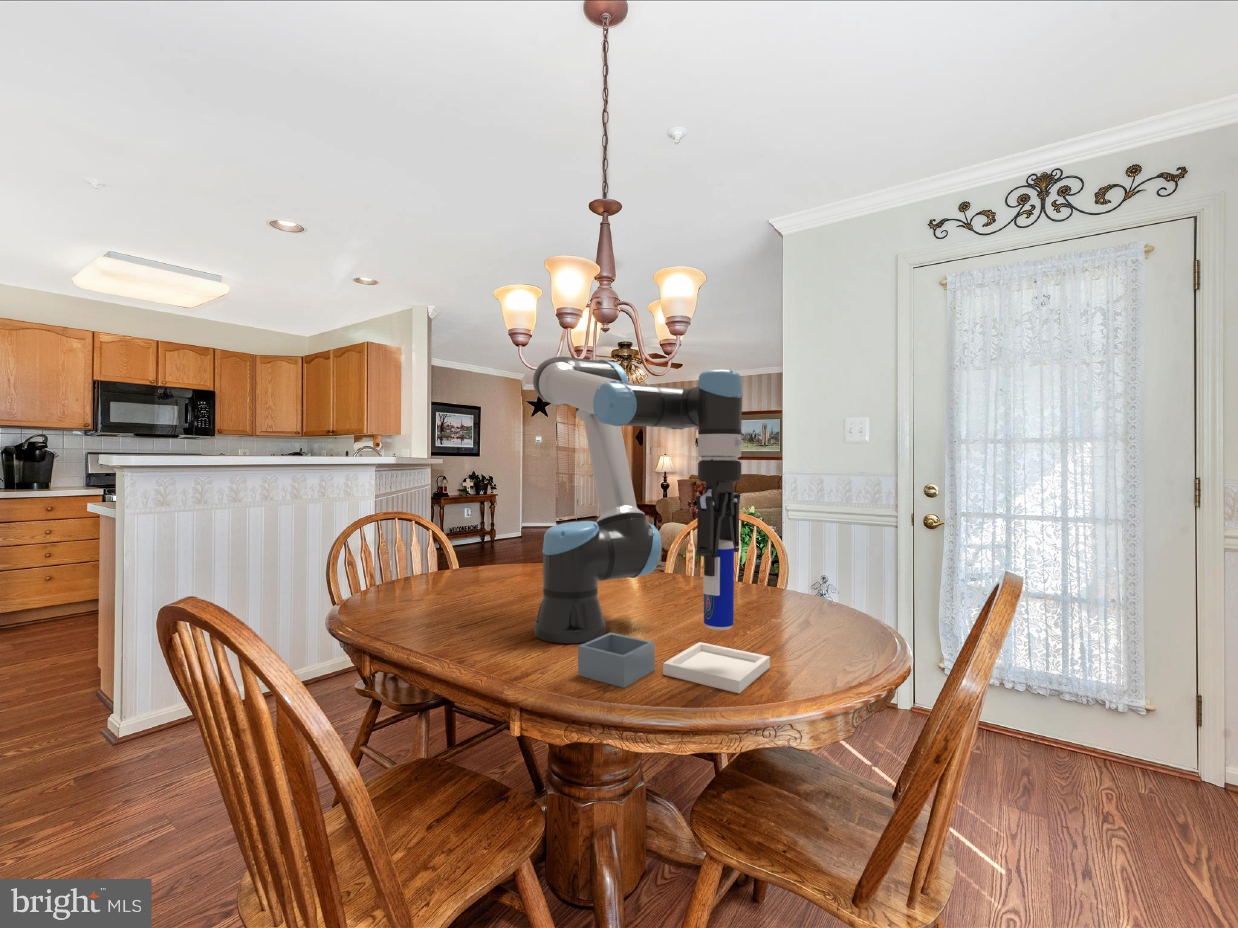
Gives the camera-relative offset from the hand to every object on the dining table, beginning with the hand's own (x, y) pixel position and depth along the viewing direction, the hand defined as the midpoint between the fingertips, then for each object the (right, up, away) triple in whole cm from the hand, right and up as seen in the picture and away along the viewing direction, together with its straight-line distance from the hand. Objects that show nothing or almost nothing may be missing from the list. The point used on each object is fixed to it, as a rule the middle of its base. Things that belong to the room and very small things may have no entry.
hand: (718, 590), depth 101 cm
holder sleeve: (-18, -14, -1) cm, 23 cm away
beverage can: (0, -6, 0) cm, 6 cm away
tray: (0, -14, 0) cm, 14 cm away
